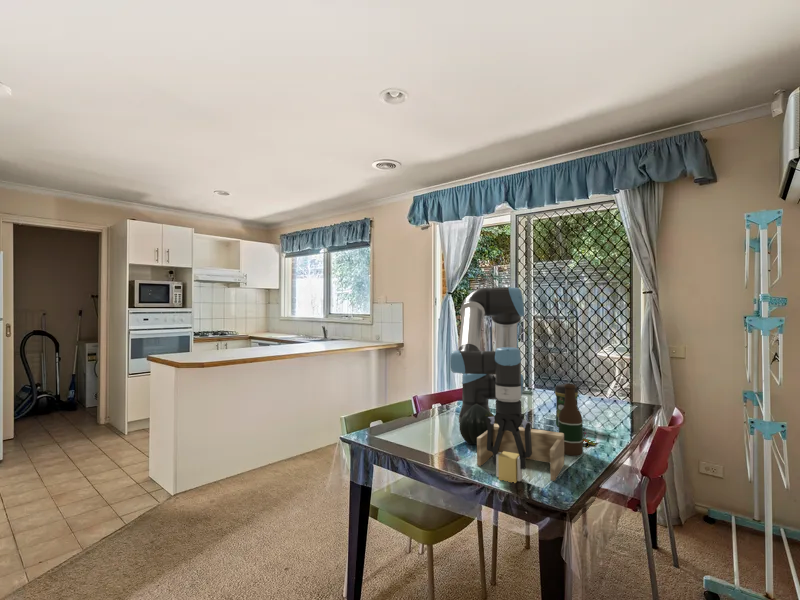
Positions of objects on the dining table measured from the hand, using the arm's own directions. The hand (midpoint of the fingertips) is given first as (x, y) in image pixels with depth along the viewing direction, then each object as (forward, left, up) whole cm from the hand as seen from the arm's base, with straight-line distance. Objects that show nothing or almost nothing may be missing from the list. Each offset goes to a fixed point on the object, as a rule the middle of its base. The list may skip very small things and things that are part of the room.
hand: (509, 477), depth 124 cm
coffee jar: (+5, +69, -1) cm, 69 cm away
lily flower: (+14, +48, -1) cm, 50 cm away
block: (0, 0, 0) cm, 0 cm away
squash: (-20, +28, -1) cm, 34 cm away
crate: (0, +13, 0) cm, 13 cm away
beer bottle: (+12, +34, -1) cm, 36 cm away
